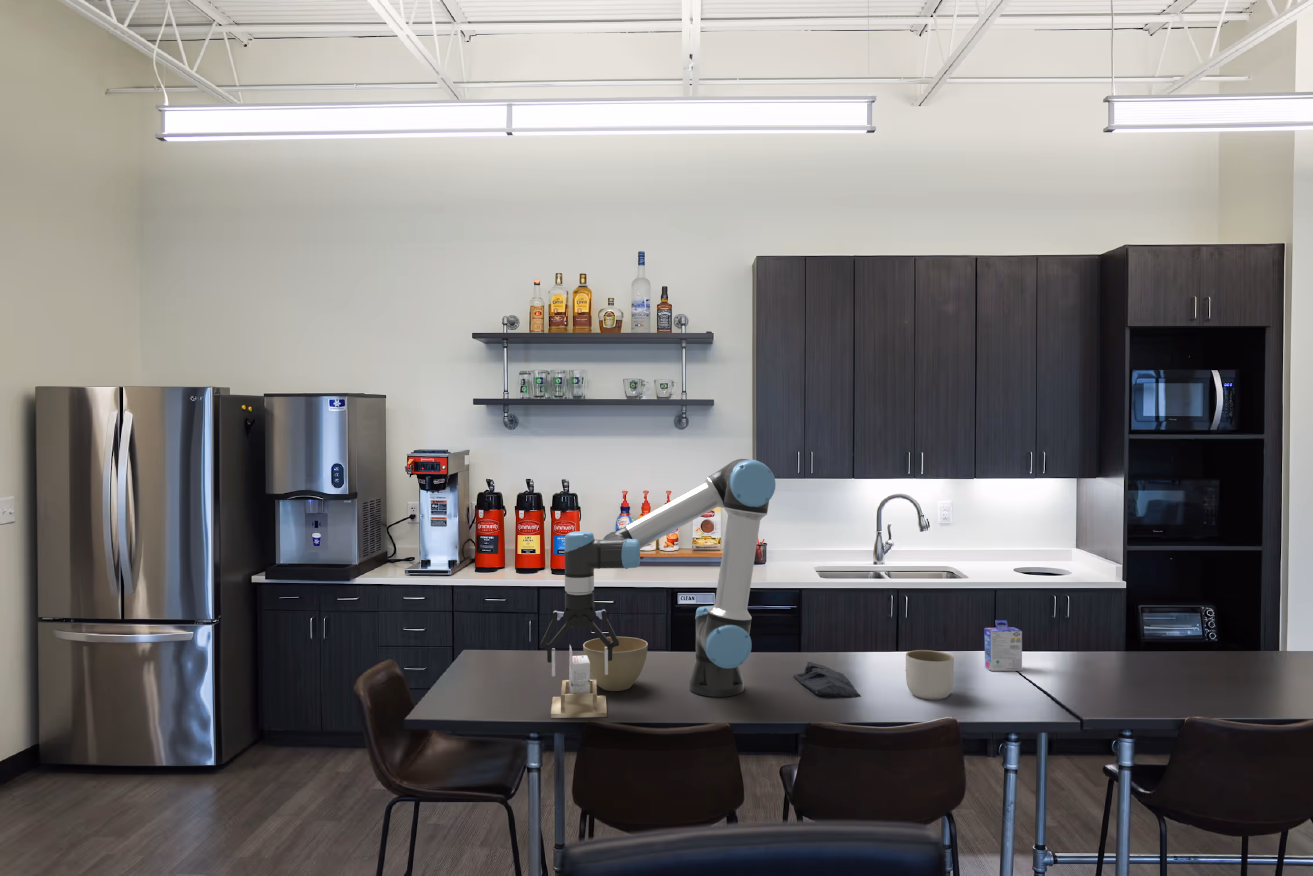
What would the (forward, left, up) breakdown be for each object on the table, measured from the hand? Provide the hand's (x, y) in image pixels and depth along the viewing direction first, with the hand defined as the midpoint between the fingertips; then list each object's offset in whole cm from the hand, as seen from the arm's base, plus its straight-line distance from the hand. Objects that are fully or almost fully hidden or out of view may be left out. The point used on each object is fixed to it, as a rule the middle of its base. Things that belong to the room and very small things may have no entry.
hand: (580, 674), depth 220 cm
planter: (-95, -4, -9) cm, 95 cm away
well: (0, 0, -9) cm, 9 cm away
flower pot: (-10, -18, -9) cm, 22 cm away
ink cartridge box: (-128, -28, -9) cm, 131 cm away
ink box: (0, 0, -8) cm, 8 cm away
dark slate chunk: (-69, -15, -10) cm, 71 cm away
